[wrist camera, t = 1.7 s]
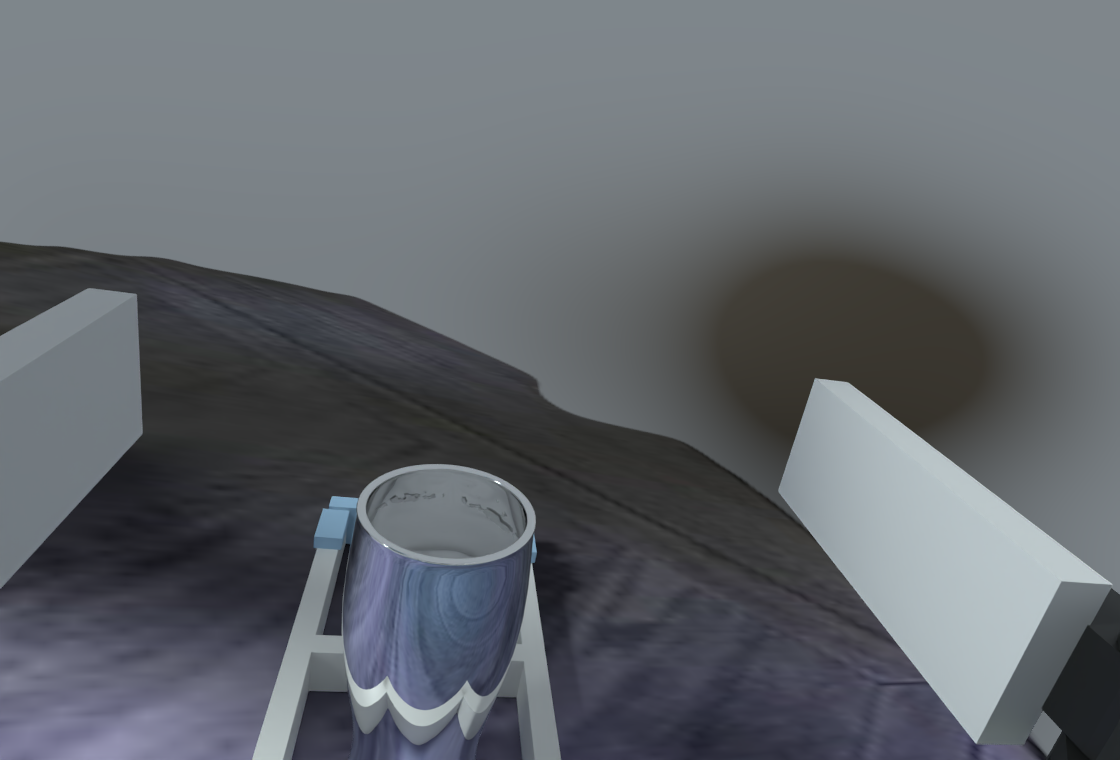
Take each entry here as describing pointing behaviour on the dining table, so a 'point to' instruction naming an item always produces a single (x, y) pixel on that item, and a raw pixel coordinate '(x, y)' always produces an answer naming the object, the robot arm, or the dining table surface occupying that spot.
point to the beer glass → (432, 608)
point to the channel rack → (322, 669)
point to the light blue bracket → (347, 525)
